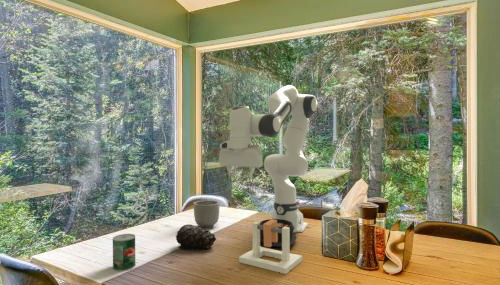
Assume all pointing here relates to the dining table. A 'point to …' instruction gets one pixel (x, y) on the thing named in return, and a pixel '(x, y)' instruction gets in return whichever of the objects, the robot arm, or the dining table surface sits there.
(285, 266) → the toilet paper holder
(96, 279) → the dining table surface
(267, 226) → the orange block
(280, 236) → the casserole
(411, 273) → the dining table surface
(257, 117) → the robot arm
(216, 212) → the planter
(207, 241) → the pine cone
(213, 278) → the dining table surface
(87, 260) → the dining table surface
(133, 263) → the canned tomato
